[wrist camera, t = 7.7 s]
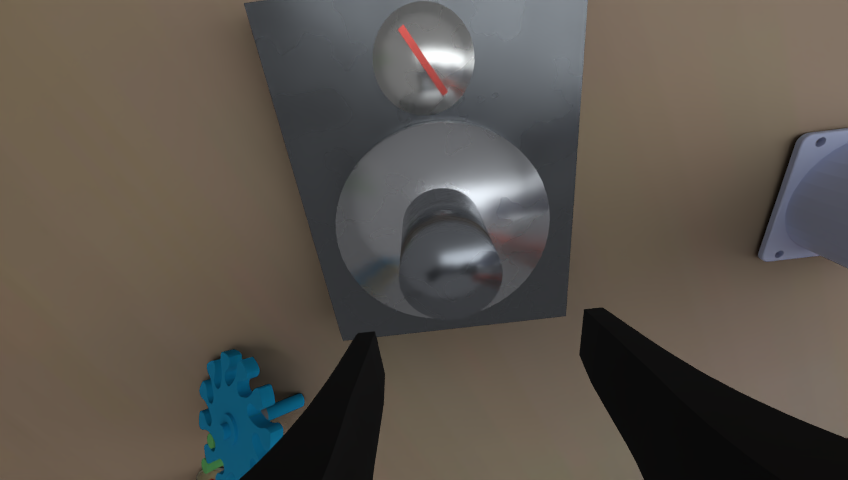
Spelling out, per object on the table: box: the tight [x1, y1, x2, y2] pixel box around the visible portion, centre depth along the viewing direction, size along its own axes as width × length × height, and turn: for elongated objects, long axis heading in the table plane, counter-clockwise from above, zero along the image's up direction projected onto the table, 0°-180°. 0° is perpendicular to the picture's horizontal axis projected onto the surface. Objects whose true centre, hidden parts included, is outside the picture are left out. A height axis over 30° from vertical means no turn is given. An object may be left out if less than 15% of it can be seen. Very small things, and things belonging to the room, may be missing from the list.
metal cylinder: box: [399, 188, 503, 320], centre depth 16 cm, size 4×4×5 cm
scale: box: [244, 0, 588, 341], centre depth 19 cm, size 14×18×3 cm
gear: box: [199, 349, 304, 480], centre depth 26 cm, size 11×6×10 cm
